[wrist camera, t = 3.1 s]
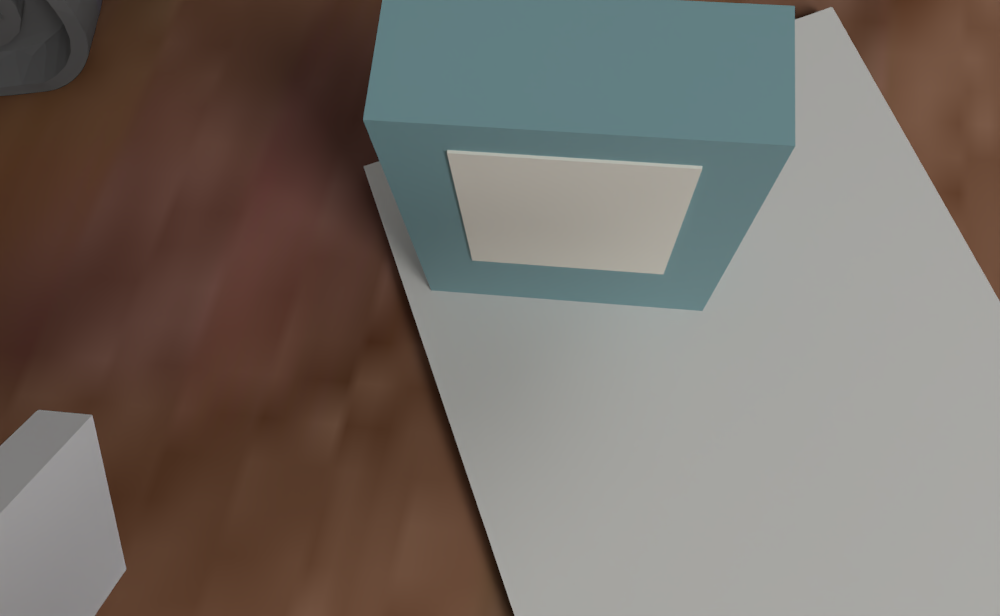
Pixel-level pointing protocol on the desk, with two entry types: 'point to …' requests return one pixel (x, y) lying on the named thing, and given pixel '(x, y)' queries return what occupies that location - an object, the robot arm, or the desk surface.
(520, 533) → the mat
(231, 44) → the desk surface
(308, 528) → the desk surface
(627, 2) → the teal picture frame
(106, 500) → the robot arm
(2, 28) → the bluetooth speaker
